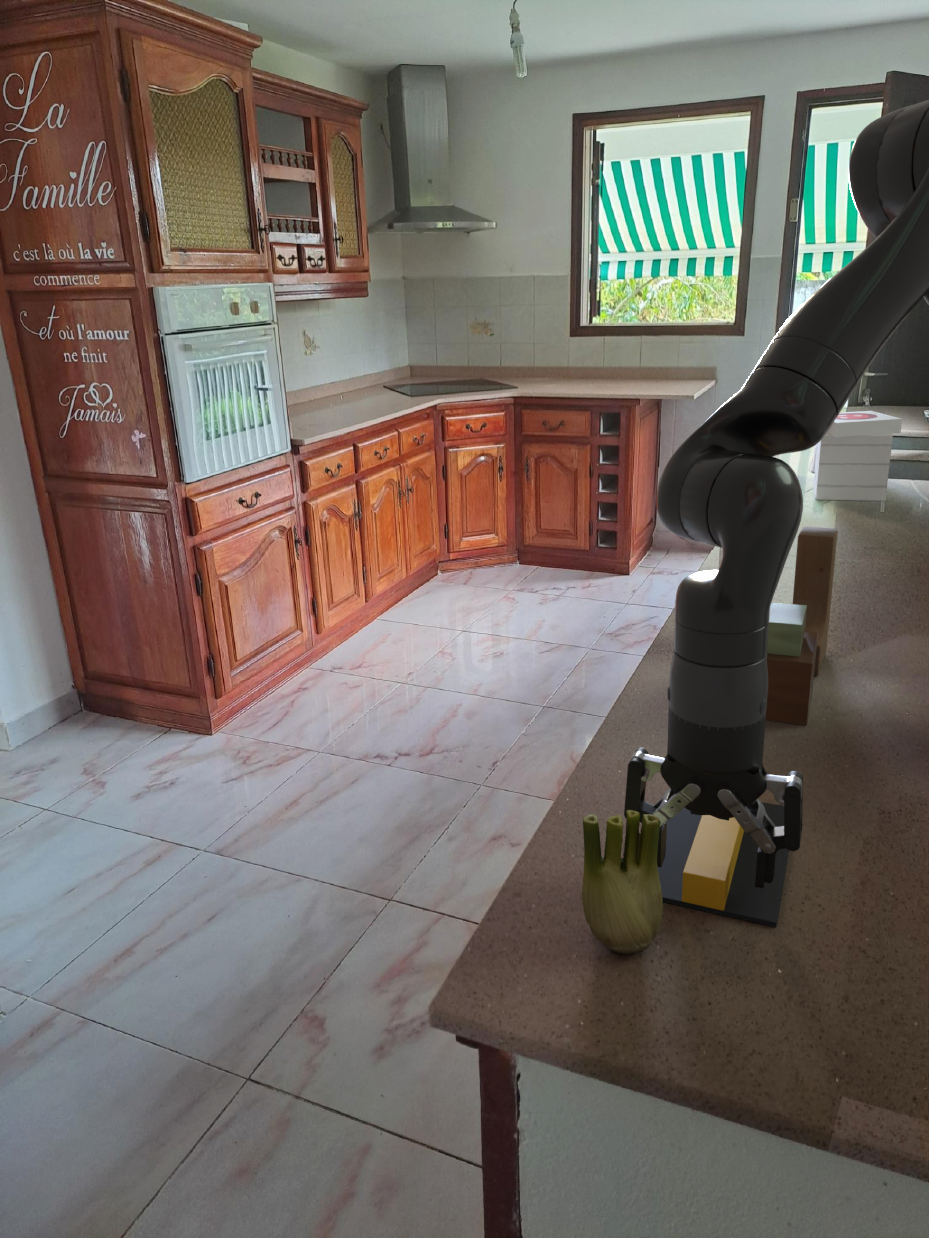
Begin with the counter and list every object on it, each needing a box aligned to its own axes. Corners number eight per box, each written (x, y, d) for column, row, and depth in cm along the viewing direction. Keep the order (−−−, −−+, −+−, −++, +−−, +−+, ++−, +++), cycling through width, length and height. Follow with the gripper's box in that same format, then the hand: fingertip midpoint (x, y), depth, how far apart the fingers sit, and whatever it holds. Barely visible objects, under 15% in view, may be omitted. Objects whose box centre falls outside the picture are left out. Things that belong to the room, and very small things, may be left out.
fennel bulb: (577, 946, 71) (576, 819, 67) (602, 910, 75) (602, 788, 71) (646, 970, 68) (649, 840, 64) (667, 932, 72) (671, 806, 68)
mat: (673, 790, 92) (673, 786, 92) (795, 812, 87) (795, 807, 87) (631, 895, 77) (631, 890, 77) (776, 927, 72) (776, 922, 72)
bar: (716, 794, 90) (717, 768, 89) (751, 800, 89) (753, 774, 88) (681, 901, 75) (682, 872, 74) (723, 911, 73) (725, 881, 72)
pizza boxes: (881, 476, 225) (889, 404, 219) (895, 503, 198) (905, 422, 192) (801, 475, 231) (807, 405, 225) (805, 501, 204) (811, 422, 198)
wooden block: (818, 677, 116) (830, 545, 109) (782, 672, 118) (792, 543, 111) (826, 652, 123) (838, 527, 117) (792, 648, 125) (802, 525, 119)
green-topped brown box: (731, 681, 116) (736, 595, 112) (812, 690, 112) (820, 602, 108) (719, 713, 108) (724, 622, 103) (806, 725, 104) (815, 631, 99)
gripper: (815, 694, 70) (800, 863, 76) (639, 672, 76) (637, 832, 82) (808, 736, 64) (792, 918, 70) (617, 710, 70) (616, 880, 75)
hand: (708, 871), depth 76 cm, fingers open, 8 cm apart
